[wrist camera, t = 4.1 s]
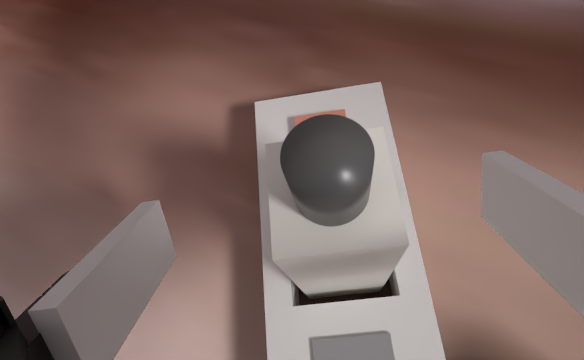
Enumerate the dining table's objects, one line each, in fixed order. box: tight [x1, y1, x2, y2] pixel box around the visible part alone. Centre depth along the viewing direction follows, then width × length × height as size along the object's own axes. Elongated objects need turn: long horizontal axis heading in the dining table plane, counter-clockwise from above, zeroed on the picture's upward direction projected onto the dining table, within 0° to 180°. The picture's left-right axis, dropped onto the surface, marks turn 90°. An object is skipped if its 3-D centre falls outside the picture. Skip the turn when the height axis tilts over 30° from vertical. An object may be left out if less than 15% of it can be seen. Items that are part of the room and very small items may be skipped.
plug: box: [265, 114, 410, 299], centre depth 15 cm, size 4×4×13 cm
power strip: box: [255, 82, 446, 360], centre depth 19 cm, size 24×8×4 cm, turn 5°
